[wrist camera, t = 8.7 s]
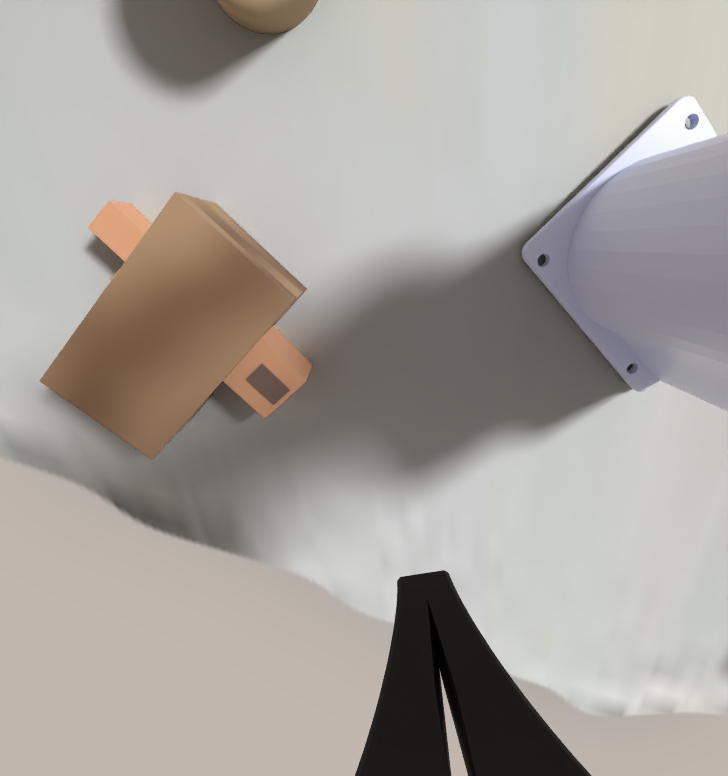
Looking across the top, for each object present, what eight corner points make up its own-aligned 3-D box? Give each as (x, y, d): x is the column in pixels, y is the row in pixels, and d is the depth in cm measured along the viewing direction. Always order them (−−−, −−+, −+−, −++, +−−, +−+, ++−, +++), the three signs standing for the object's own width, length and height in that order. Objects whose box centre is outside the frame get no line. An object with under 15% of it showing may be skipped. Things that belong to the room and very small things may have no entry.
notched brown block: (306, 288, 17) (293, 300, 14) (189, 420, 19) (151, 459, 16) (215, 203, 16) (175, 191, 12) (101, 354, 18) (39, 381, 15)
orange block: (312, 364, 19) (306, 381, 16) (275, 398, 19) (264, 419, 17) (141, 193, 16) (103, 185, 14) (104, 238, 16) (62, 238, 14)
